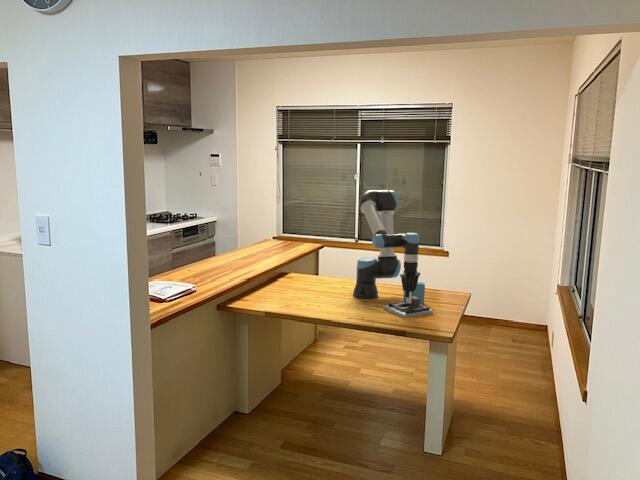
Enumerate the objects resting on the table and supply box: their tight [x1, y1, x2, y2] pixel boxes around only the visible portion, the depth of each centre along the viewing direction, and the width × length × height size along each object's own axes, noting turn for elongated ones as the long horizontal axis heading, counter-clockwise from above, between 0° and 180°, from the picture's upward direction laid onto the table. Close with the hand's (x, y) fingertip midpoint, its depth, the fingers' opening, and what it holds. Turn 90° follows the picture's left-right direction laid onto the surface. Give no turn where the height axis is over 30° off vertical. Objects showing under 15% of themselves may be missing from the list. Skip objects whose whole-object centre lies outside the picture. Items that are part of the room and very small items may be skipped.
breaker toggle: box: [408, 296, 420, 307], centre depth 298 cm, size 5×4×5 cm
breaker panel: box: [383, 300, 434, 319], centre depth 296 cm, size 18×20×4 cm
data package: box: [402, 281, 426, 305], centre depth 313 cm, size 12×4×12 cm, turn 79°
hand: (408, 302), depth 296 cm, fingers closed
